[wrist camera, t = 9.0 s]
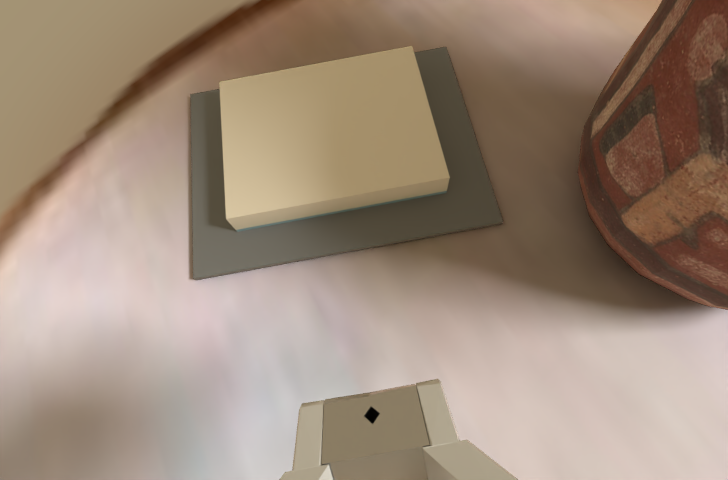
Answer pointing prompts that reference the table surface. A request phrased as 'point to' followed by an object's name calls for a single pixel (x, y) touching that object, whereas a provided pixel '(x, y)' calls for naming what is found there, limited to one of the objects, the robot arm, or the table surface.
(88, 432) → the table surface
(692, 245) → the pottery
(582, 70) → the table surface
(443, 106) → the mat
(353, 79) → the tile
